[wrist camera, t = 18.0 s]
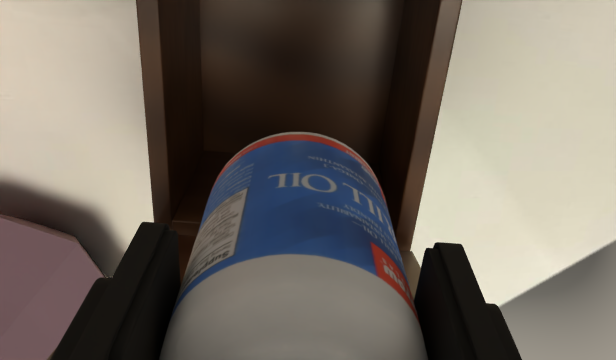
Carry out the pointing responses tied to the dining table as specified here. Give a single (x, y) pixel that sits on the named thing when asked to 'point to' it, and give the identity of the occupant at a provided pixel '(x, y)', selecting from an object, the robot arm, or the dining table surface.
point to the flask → (39, 287)
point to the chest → (291, 90)
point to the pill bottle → (295, 262)
